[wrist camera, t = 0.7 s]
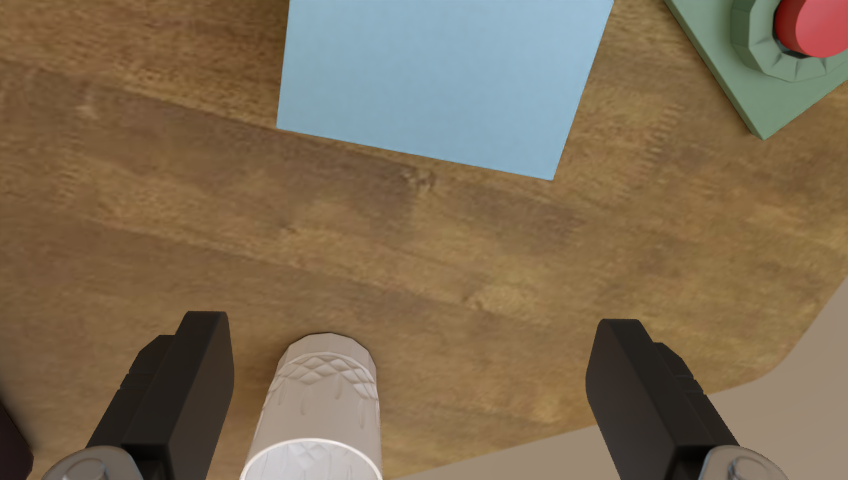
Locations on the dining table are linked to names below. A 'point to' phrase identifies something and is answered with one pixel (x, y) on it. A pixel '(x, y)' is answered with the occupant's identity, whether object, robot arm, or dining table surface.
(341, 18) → the lid
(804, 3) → the button
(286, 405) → the white cup
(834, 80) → the green button base
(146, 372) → the robot arm
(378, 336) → the dining table surface
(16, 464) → the diary
